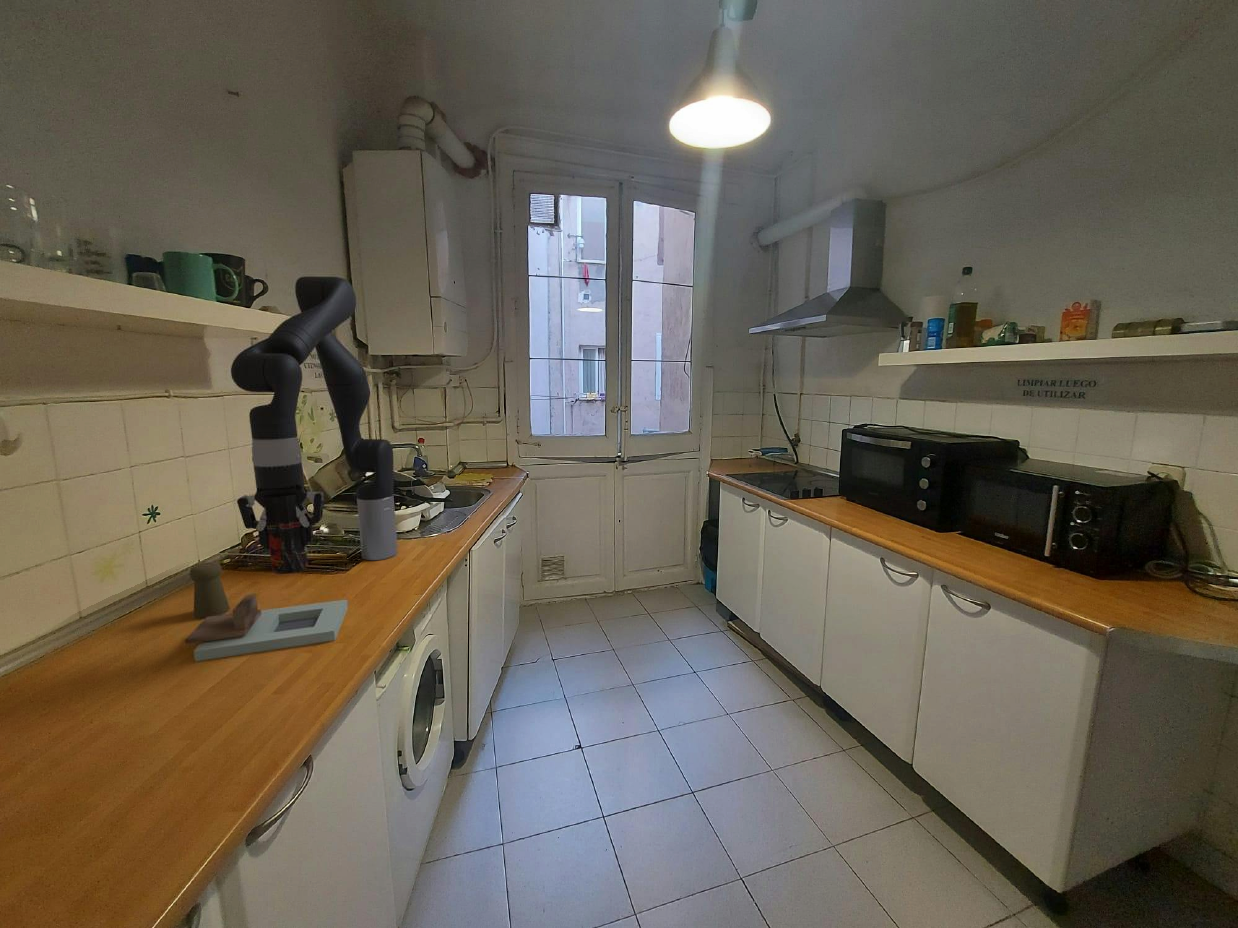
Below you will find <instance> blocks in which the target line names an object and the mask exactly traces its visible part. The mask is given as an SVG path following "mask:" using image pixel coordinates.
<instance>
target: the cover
mask: <svg viewBox="0 0 1238 928" xmlns="http://www.w3.org/2000/svg"><path fill="white" fill-rule="evenodd" d="M261 610H262V609H259V608H258V600H257V593H252V594H246V595H245V596H244V597H243V598H242V599H241V600H240V601H239V602H238V604H237V605H236V606H235V607H234V608H233V609H232V610H231V611H232V612H231V613H224V614H222V615H217V616H209V617H206V618H205V619H202V622H200V624H198V626H197V627H196V628H195V629H193V631H192V632H191V633H190V634H189V635H188V636H187V637H186V638H185V639H184V643H185V644H187V645H188V644H195V643H201V642H203V641H210V640H217V639H224V638H231V637H239V636H245V635H246V634H247V632H248V631H249V630H250V628H251V627H252V626H253V624H254V623H255V622H256V620H257V619H258V618H259V616H260V615H261V614H262V613H261Z"/></svg>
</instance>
